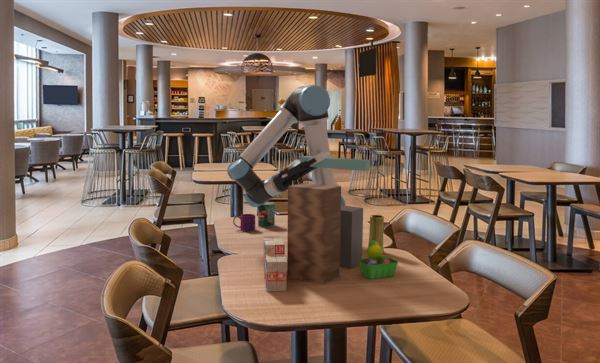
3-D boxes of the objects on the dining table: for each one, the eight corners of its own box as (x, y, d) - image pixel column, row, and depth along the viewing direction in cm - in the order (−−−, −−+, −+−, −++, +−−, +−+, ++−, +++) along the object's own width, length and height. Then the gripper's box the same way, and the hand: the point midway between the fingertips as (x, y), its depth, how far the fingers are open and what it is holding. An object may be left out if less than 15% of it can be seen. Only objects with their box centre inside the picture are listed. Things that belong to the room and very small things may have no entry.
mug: (254, 231, 243) (254, 216, 242) (232, 231, 243) (232, 216, 242) (255, 228, 250) (255, 213, 249) (234, 228, 250) (234, 213, 249)
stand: (287, 277, 175) (287, 186, 171) (303, 269, 184) (304, 182, 180) (324, 284, 168) (326, 189, 164) (339, 276, 176) (341, 186, 173)
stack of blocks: (287, 291, 162) (287, 251, 160) (266, 292, 161) (266, 252, 159) (281, 271, 183) (281, 235, 181) (263, 271, 182) (263, 235, 180)
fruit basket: (369, 280, 172) (369, 246, 171) (355, 273, 180) (356, 240, 179) (398, 276, 177) (400, 243, 175) (384, 269, 185) (385, 237, 183)
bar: (300, 166, 196) (300, 156, 195) (305, 165, 198) (305, 156, 198) (365, 170, 182) (365, 160, 182) (369, 169, 185) (369, 159, 185)
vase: (385, 251, 210) (386, 215, 208) (382, 254, 204) (383, 218, 202) (369, 249, 212) (370, 214, 210) (366, 253, 206) (367, 216, 204)
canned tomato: (277, 224, 258) (277, 202, 257) (270, 228, 251) (270, 204, 249) (262, 223, 261) (262, 201, 259) (255, 226, 253) (255, 203, 252)
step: (320, 263, 192) (321, 208, 189) (332, 257, 200) (333, 204, 197) (350, 268, 186) (352, 211, 183) (361, 262, 193) (363, 207, 191)
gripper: (294, 189, 210) (341, 162, 198) (270, 194, 196) (319, 166, 184) (286, 172, 211) (332, 144, 199) (262, 176, 197) (310, 146, 185)
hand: (326, 155), depth 191 cm, fingers closed on bar, 3 cm apart
